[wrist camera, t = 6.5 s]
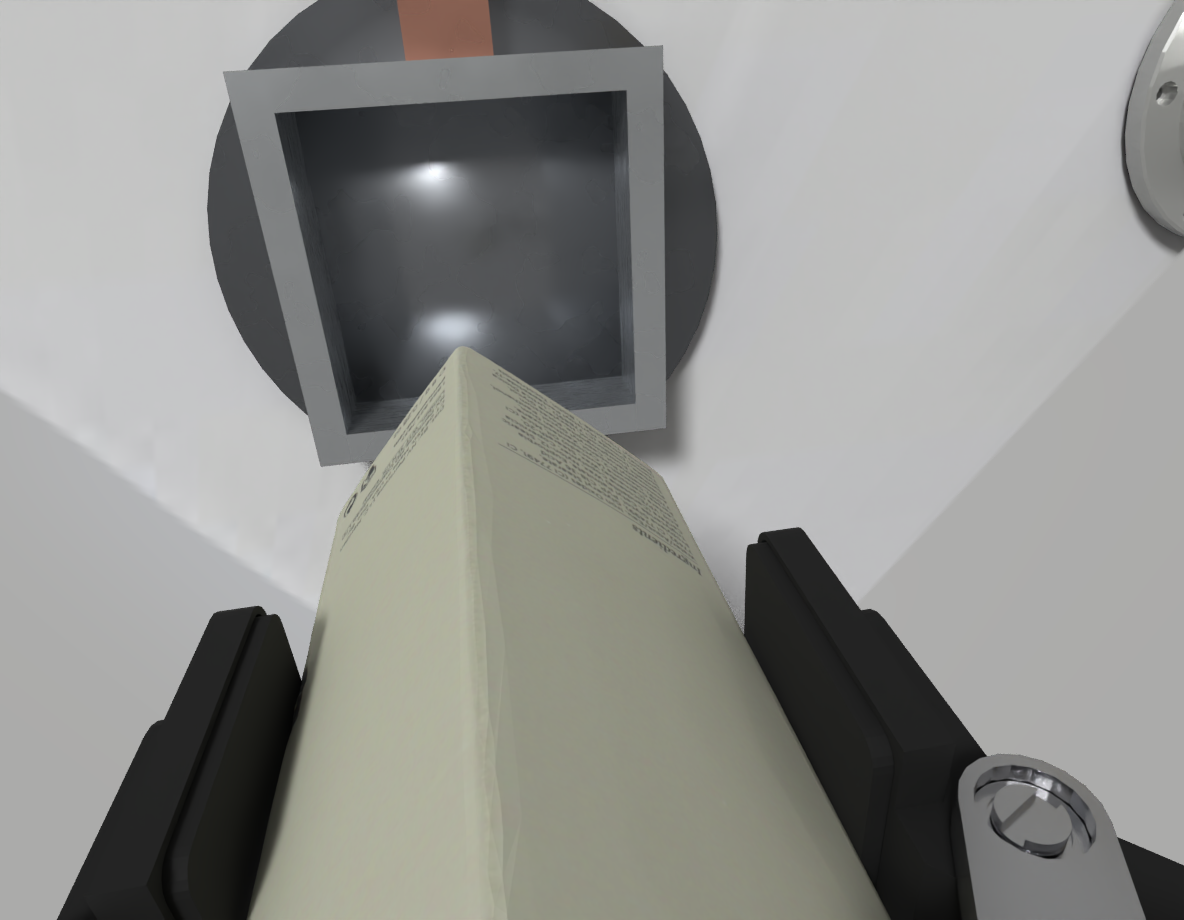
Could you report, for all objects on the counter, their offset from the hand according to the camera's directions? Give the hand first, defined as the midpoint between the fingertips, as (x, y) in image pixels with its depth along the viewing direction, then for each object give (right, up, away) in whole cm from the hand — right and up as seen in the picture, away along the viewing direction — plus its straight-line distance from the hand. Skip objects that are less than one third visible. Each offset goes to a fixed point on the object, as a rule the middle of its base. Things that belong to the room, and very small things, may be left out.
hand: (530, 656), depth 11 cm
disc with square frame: (-4, +13, +19) cm, 23 cm away
